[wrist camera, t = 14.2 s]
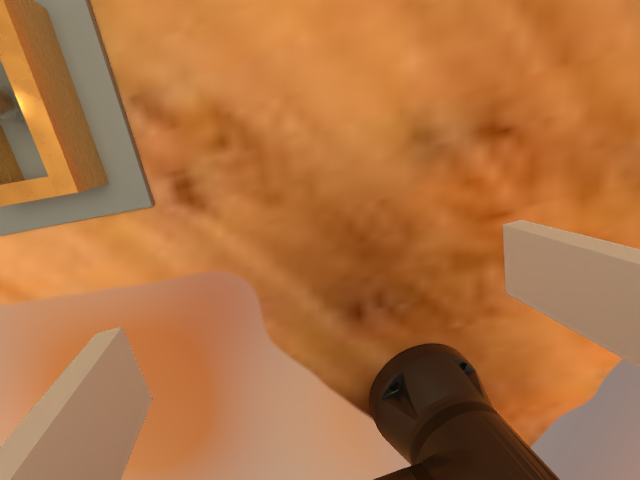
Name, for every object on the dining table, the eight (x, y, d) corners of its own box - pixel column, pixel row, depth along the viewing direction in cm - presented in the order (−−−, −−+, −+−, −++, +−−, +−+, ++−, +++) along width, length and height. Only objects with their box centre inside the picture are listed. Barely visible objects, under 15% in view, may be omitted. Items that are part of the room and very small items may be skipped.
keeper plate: (154, 204, 33) (152, 206, 32) (-2, 234, 31) (-10, 237, 30) (77, -37, 27) (71, -43, 26) (-123, -18, 25) (-138, -25, 24)
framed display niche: (109, 183, 31) (78, 192, 25) (13, 200, 30) (-41, 214, 24) (46, 9, 27) (-7, -27, 21) (-67, 21, 26) (-157, -13, 20)
